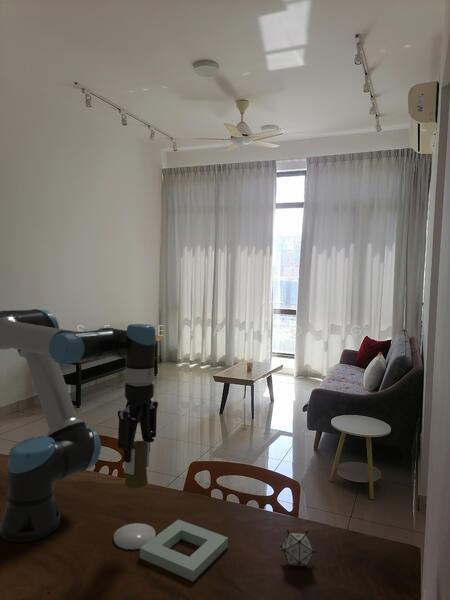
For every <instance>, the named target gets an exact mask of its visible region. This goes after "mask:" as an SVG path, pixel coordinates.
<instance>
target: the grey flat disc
mask: <svg viewBox="0 0 450 600" xmlns="http://www.w3.org/2000/svg"><path fill="white" fill-rule="evenodd" d="M155 536H157V535H156V530H155V528H154V527H153V526H151V525H149V524H147V523H138V522H137V523H136V522H134V523H129V524H125V525H123V526H122V527H119V528H118V529H117V530H115V532H114V534H113V542H114V544H115V545H116V546H117V547H118V548H120V549H122V550H128V549H129V550H130V549H131V551H133V550H140V548H141V547H142V546H143V545H145V544H146V543H147V542H149V541H150V540H151V539H153V538H154V537H155ZM129 550H128V551H129Z"/></svg>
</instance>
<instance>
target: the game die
mask: <svg viewBox="0 0 450 600" xmlns="http://www.w3.org/2000/svg"><path fill="white" fill-rule="evenodd" d="M286 533H287V535H286V537H285V540H284V541H283V544H282V545H281V544H280V545H279V548H282V549H281V552H283V553H284V556H285V559H286V562H287V566H286V569H288V568H289V567H290V566H300V567H305V568H306V569H307V570H309V568H310V566H308V564H309V562H310V560H311V557H312V555H313V554H317V551H316V550H314V548H313V546H312V544H311V541H310V540H309V537H308V533H309V530H306V531H305V532H304V533H303V532H290V531H289V530H288V529H286Z"/></svg>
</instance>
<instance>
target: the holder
mask: <svg viewBox="0 0 450 600" xmlns="http://www.w3.org/2000/svg"><path fill="white" fill-rule="evenodd" d="M181 540H183V541H186V542H188V543H190V544H193V545H195V546H198V548H197V549H196V550H195V551H194V552H193V553H192V554H191V555H190V556H188V555H185V554H183V553H181V552H178V551H176V550H174V549H171V548H172V547H173V546H174V545H176V544H177V543H178V542H180V541H181ZM228 547H229V537H227V536H225V535H222V534H219V533H218V532H214V531H211V530H208V529H206V528H204V527H200V526H199V525H198V526H197V525H194V524H192V523H189V522H186V521H184V520H180V519H177V520H176V521H174V522H173V523H172V524H171V525H169V526H168V527H166V528H165V529H164V530H162V531H161V532H160V533H158V534H157V535H156V536H155V537H154V538H153V539H151V540H150V541H149V542H147V543H146V544H145V545H143V546H142V547H141V548H140V549H139V559H141V560H144V561H146V562H148V563H150V564H153V565H154V566H155V565H156V566H157V567H160V568H162V569H164V570H166V571H169V572H171V573H173V574H175V575H178V576H180V577H183V578H185V579H186V580H189V581H191V582H195V580H196V579H198V578H199V576H200V575H201V574H202V573H203V572H204V571H205V570H206V569H207V568H208V567H209V566H211V564H212V563H214V561H215V560H217V558H218V557H219V556H220V555H221V554H223V553H224V552H225V550H227V548H228Z"/></svg>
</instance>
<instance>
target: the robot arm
mask: <svg viewBox="0 0 450 600" xmlns="http://www.w3.org/2000/svg"><path fill="white" fill-rule="evenodd" d="M156 337H157V336H156V327H155V326H154V325H152V324H146V323H145V324H144V323H135V324H134V323H131V324H128V325H127V326H126V330H125V329H118V328H113V327H100V328H98V329H97V330H87V331H86V330H85V331H73V330H67V329H62V328H60V326H59V322H58V319H57V318H56V316H55V314H53V313H52V312H50V311H49V310H45V309H36V308H33V309H25V310H24V309H20V310H16V309H15V310H0V350H3V351H4V350H9V349H15V350H17V352H18V355H19V356H20V357H22V358H25V360H26V364H27V366H28V368H29V372H30V374H31V379H32V381H33V385H34V388H35V390H36V392H37V393H36V394H37V397H38V400H39V402H40V405H41V406H40V407H41V409H42V411H43V415H44V417H45V421H46V424H47V428H48V432H47V434H46V435H45V436H44V435H43V436H42V435H39V436H37V437H34V436H33V437H29V438H26V439H24V440H21V441H19V442H17V443H16V444H15V445H14V446H13V447H12V448H10V451H9V453H8V461H7V466H6V467H7V504H6V506H5V509H4V512H3V516H2V518H1V521H0V537H1V538H2V539H3V540H4V541H7V542H11V543H28V542H29V543H30V542H33V541H39V540H40V539H43V538H46V537H47V536H49V535H51V534H53V533H54V532H55V531H56V530H57V529H58V528H59V527H60V524H61V523H60V521H61V515H60V510H59V507H58V504H57V502H56V498H55V483H57V482H59V481H61V480H62V481H63V480H64V479H66V478H68V477H71V476H75V475H76V474H79V473H83V472H85V471H86V470H87V469H90V468H92V467H94V466H95V464H97V462H98V461H99V458H100V455H101V446H102V445H101V444H102V443H101V439H100V437H99V434H98V432H97V431H95V429H93V428H91V427H87V425H86V423H85V421H84V420H82V419H80V418H79V417H78V415H77V412H76V410H75V405H74V404H73V402H72V398H71V395H70V392H69V389H68V387H67V384H66V381H65V378H64V376H63V375H64V374H63V371H62V369H61V367H60V365H61V364H65V365H66V364H69V365H70V364H71V365H72V364H74V363H79V362H86V361H91V360H98V359H99V360H100V359H105V358H113V357H114V358H120V359H121V358H122V359H125V376H124V378H125V379H124V381H125V382H126V383H125V384H124V397H125V399H126V401H127V402H126V405H125V408H124V409H122V410H121V409H120V410H118V411H117V416H118V417H117V418H118V429H117V431H118V433H117V448H118V449H121V450H123V461H124V466H123V468H124V469H123V471H124V472H123V473H125V474H126V473H128V474H131V475H133V474H134V460H135V449H132V448H133V444H134V441H135V438H136V433H137V428H138V424H139V426H140V427H139V428H140V432H141V438H142V441H143V442H145V443H146V444H147V452H146V454H145V460H146V468H148V467H149V466H150V452H151V443H153V442H154V441H155V438H156V437H157V420H158V419H157V411H158V406H159V401H157V400H156V401H155V400H152V398H153V397H154V394H155V393H154V392H155V391H154V390H155V384H154V383H153V382H154V381H155V361H156V360H155V357H156V344H157V340H156Z"/></svg>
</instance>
